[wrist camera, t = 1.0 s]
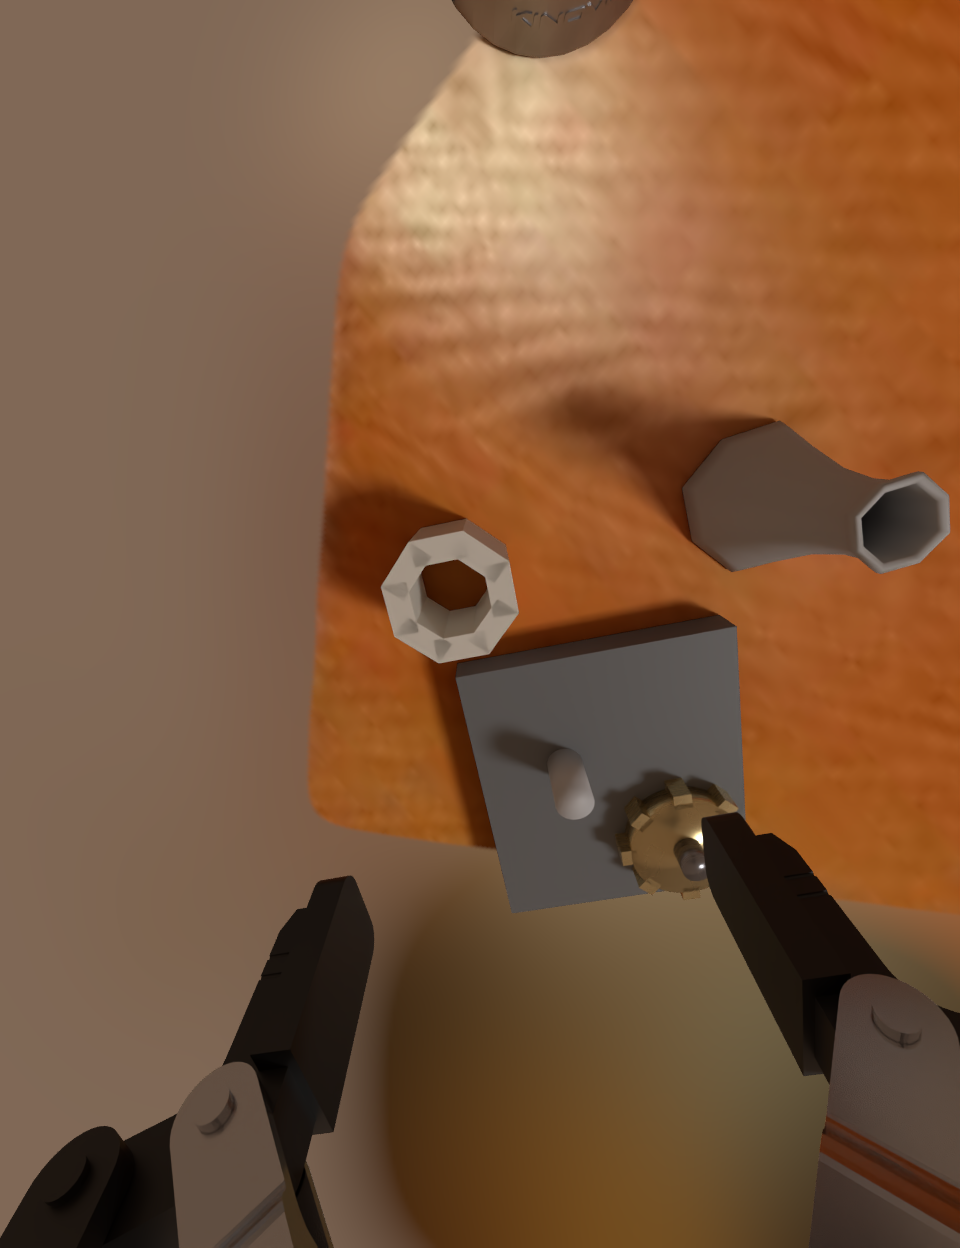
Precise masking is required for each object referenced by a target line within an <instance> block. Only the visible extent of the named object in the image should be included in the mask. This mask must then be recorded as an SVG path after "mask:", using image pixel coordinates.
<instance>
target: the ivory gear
mask: <svg viewBox="0 0 960 1248" xmlns="http://www.w3.org/2000/svg"><path fill="white" fill-rule="evenodd" d="M456 559H458V560H460V561H461V562H463V563H464V564H466V565H467V566H469V567H471V568H472V569H474V570H475V571H477V572H478V573H480V574H481V575H483V576H484V577H485V578H486V583H487V588H488V589H487V590H486V592H485V593H484V595H483V596H482V598H481V599H480V600H479V602H478V603H477V605H476V606H473V607H468V608H462V609H457V610H452V611H449V610H447V609H446V608H444V607H443V606H441V605H439V604H438V603H436V602H435V601H433V600H431V599H430V598H428V597H427V595H426V591H425V586H424V582H423V578H422V574H421V572H422V571H423V569H424V567H425V566H426V565H431V564H436V563H441V562H446V561H451V560H456ZM381 589H382V593H383V596H384V600H385V604H386V607H387V611H388V615H389V618H390V622H391V626H392V629H393V633H394V637H396V638H398V639H399V640H401V641H403V642H404V643H406V644H408V645H409V646H411V647H413V648H414V649H416V650H417V651H419V652H421V653H422V654H424V655H426V656H427V657H429V658H431V659H432V660H434V661H436V662H437V663H444V662H449V661H454V660H460V659H465V658H471V657H476V656H481V655H487V654H490V652H491V651H492V649H493V648H494V647H495V645H496V644H497V643H498V641H499V640H500V638H501V637H502V636H503V634H504V633H505V631H506V630H507V629H508V627H509V626H510V624H511V623H512V622H513V620H514V619H515V618H516V616H517V615H518V613H519V611H518V606H517V601H516V595H515V590H514V585H513V579H512V574H511V569H510V563H509V558H508V554H507V549H506V545H505V544H504V543H502V542H501V541H499V540H498V539H496V538H495V537H493V536H492V535H490V534H489V533H487V532H486V531H484V530H483V529H481V528H480V527H478V526H477V525H475V524H474V523H472V522H471V521H469V520H468V519H462V520H457V521H453V522H448V523H443V524H438V525H433V526H428V527H424V528H420V529H419V531H418V532H417V533H416V534H415V535H414V536H413V537H412V538H411V540H410V541H409V542H408V544H407V545H406V547H405V549H404V550H403V552H402V553H401V555H400V557H399V558H398V560H397V562H396V563H395V565H394V566H393V568H392V570H391V571H390V573H389V575H388V576H387V578H386V579H385V581H384V583H383V584H382V586H381Z"/></svg>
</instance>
